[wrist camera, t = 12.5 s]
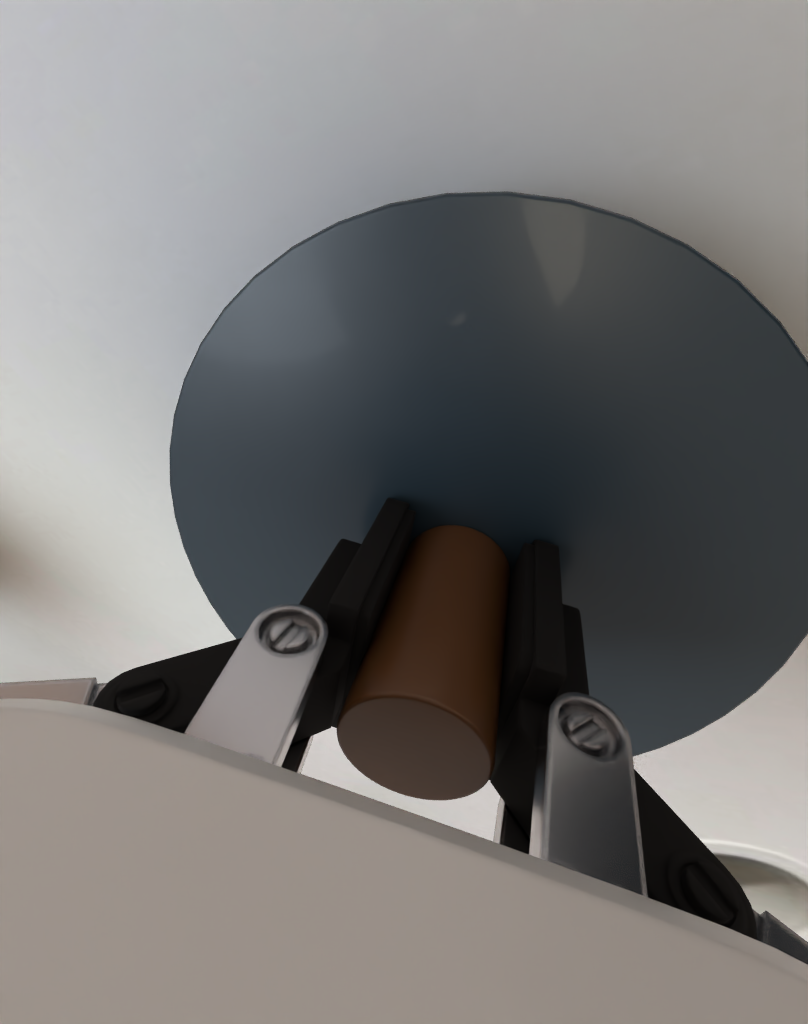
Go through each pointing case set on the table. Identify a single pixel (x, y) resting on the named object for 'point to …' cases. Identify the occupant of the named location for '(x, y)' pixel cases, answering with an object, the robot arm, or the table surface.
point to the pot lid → (506, 464)
